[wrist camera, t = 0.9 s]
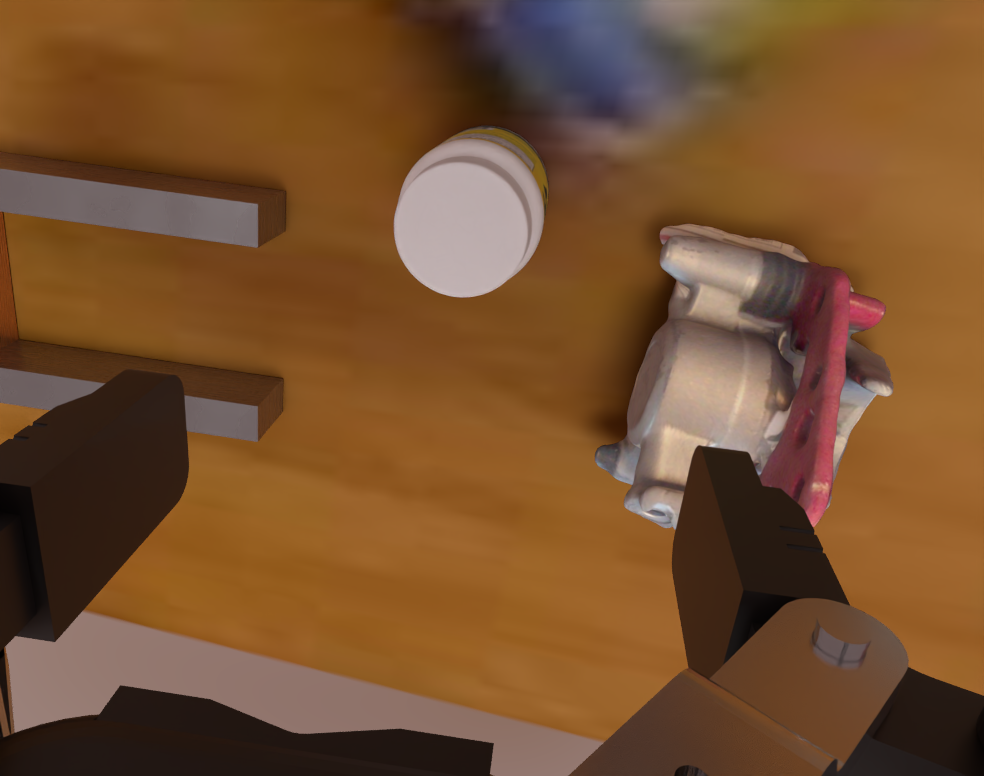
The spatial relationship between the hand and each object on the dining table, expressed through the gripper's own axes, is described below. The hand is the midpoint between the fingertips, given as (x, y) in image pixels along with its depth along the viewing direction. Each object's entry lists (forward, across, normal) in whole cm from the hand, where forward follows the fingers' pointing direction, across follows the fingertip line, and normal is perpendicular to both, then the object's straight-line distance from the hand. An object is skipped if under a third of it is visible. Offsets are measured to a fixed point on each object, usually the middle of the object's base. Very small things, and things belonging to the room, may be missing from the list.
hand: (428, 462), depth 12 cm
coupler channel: (+20, +15, +5) cm, 26 cm away
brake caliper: (+21, -9, +5) cm, 23 cm away
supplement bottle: (+21, +1, -1) cm, 21 cm away
